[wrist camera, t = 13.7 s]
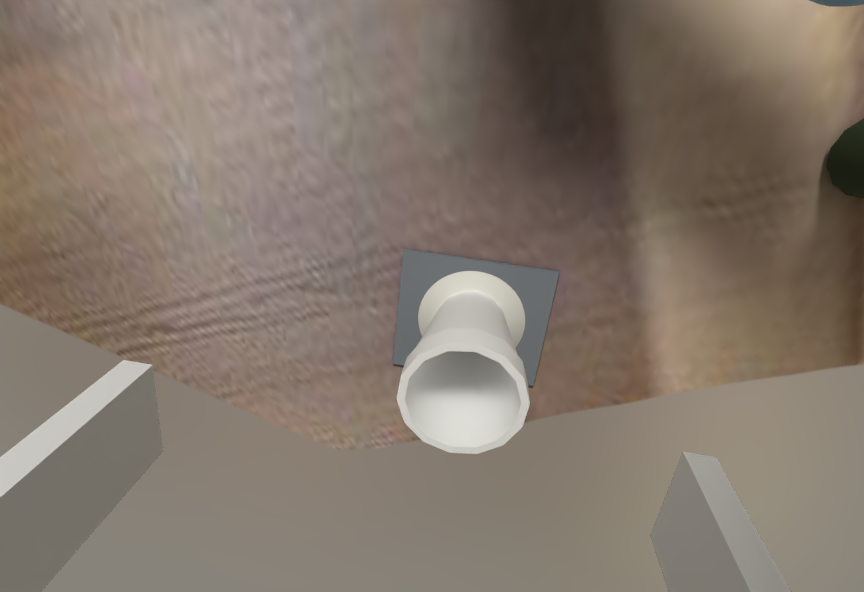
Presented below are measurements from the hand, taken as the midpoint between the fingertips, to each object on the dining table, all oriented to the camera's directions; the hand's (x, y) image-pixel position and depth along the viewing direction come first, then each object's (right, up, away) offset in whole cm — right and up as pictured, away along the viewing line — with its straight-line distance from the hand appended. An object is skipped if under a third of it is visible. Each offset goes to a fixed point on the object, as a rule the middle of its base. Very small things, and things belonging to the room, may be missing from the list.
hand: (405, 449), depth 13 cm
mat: (+4, +2, +37) cm, 37 cm away
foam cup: (+4, +2, +36) cm, 37 cm away
